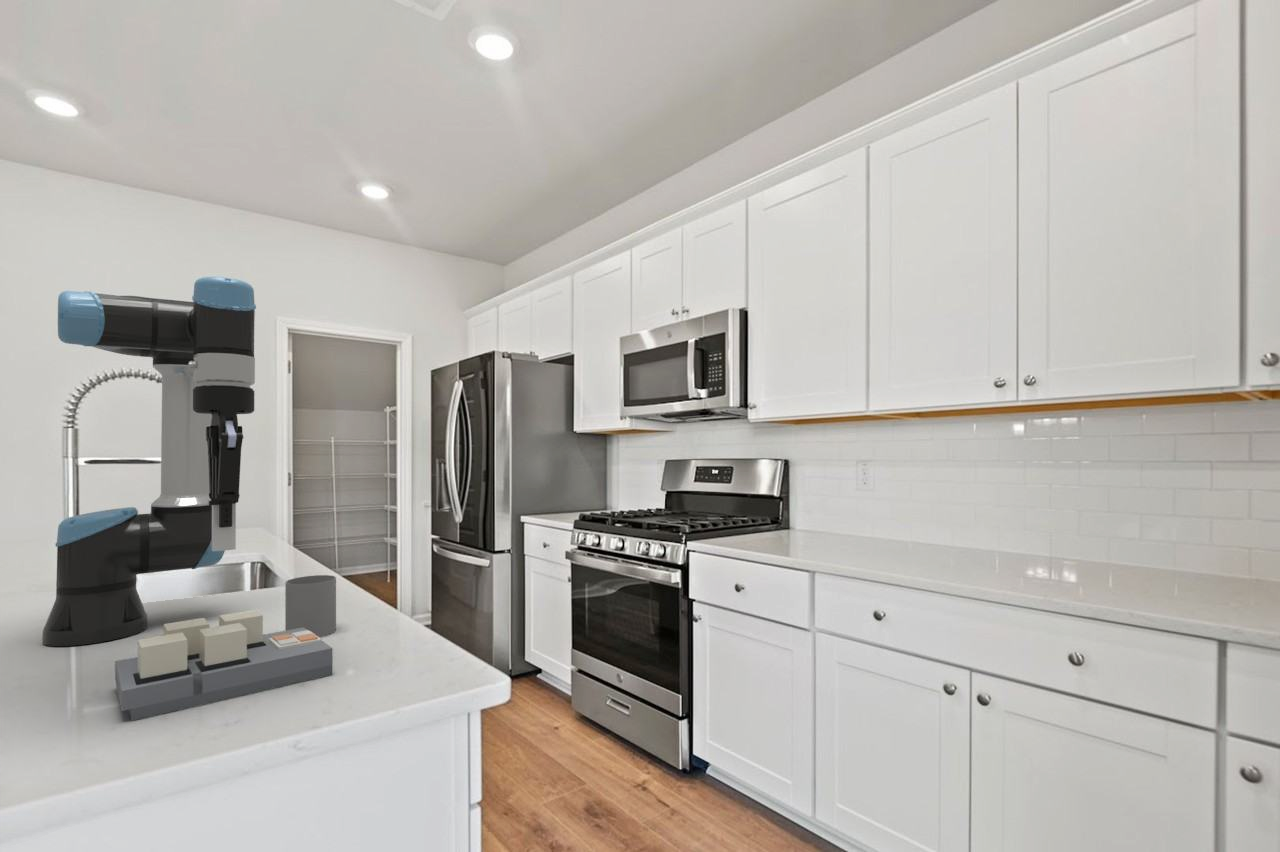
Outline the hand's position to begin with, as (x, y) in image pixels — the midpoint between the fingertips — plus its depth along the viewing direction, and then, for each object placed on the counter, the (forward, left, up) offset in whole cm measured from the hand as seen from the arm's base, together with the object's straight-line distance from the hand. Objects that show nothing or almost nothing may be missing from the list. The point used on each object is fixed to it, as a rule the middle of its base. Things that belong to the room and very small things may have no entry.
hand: (223, 549), depth 93 cm
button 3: (0, 0, -15) cm, 15 cm away
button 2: (-8, -3, -15) cm, 17 cm away
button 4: (-8, +3, -15) cm, 17 cm away
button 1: (0, -7, -15) cm, 17 cm away
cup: (-23, +18, -20) cm, 35 cm away
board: (-4, +2, -20) cm, 20 cm away
